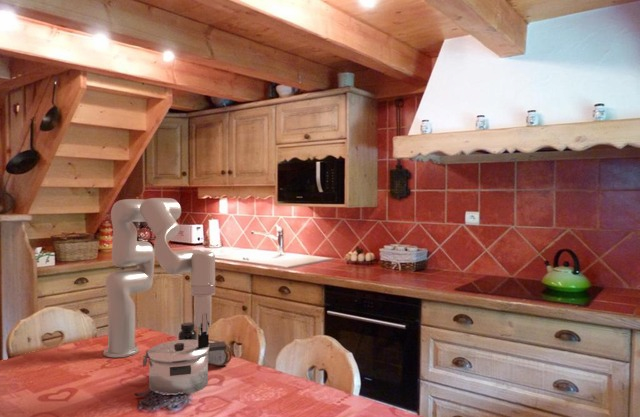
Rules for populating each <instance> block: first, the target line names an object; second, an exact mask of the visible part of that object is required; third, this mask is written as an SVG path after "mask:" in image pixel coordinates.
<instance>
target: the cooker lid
mask: <svg viewBox="0 0 640 417" xmlns="http://www.w3.org/2000/svg"><path fill="white" fill-rule="evenodd" d="M225 343H226V342H225V340H224V341H223V340H222V341H220V342H214V343H209V346H208V347H201V348H199V347H198V339H197V340H178V339H177V340H171V341H166V342H161V343H159V344H156V345H154V346H151V348H150V349H148V350H146V351H145V355H144V356H145V357H146V358H147V359H148V360H149V359H150V360H151V361H154V362H159V363H179V362H186V361H191V360H194V359H198V358H200V357H203V356H205V355H206V354H208V353H209V351H217V350H226V344H227V343H226V344H225Z"/></svg>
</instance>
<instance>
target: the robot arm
mask: <svg viewBox="0 0 640 417" xmlns="http://www.w3.org/2000/svg"><path fill="white" fill-rule="evenodd" d="M181 215H182V207H181V205H180V203H179V202H178V200H176V198H175V199H174V198H172V197H171V198H170V197H151V198H147V199H142V198H141V199H140V198H139V199H138V198H125V199H120V200H117V201H115V203H114V204H113V205H112V207H111V211H110V218H111V219H110V220H111V225H112V231H113V232H112V246H111V261H112V265H114V266H115V267H117V268H128V267H136V268H128V269H120V270H115V271H113V272H110V273H109V274H108V275H107V276H106V279H105V289H106V294H107V304H108V305H107V320H108V322H107V326H108V328H107V329H108V330H107V332H108V333H107V348H105V349H104V350H103V356H105V357H107V358H124V357H130V356H134V355H136V354H137V353H138V352H139V351H140V348H139V346H138V345H136V305H135V302H134V301H133V298H132V297H131V296H130V295H134V294H138V293H139V294H140V293H144V292H147V291H150V289H151V288H152V287H153V283H154V274H155V273H154V272H155V261H157V262H158V264H159V265H160V267H161V268H162V269H163V270H164V272H166V273H167V274H169V275H180V274H188V273H191V274H190V275H191V276H190V282H191V283H190V285H191V286H190V292H191V293H190V295H191V296H192V297H194V298H193V299H194V300H193V323H194V328H197V329H198V333H197V340H198V347H199V348H201V347H208V346H209V338H210V337H209V327H211V325H212V307H213V306H212V300H213V299H212V296H215V294H216V255H215V253H214V252H212V251H202V250H199V249H184V250H183V249H182V250H172V248H171V247H170V245H169V244H168V242H170V241H171V240H173V239H175V237H177V236H178V234H179V232H180V229H181V228H180V224H179V223H178V222H177V220H178V219H179V218H180V217H181ZM136 222H137V223H138V222H139V223H143V222H146V224H147V225H148V226H149V229H150V230H151V231H152V232H153V235H155V240H154V244H151V242H149V241H145V240H138V229H137V227H136V225H135V224H134V223H136ZM155 258H156V260H155Z"/></svg>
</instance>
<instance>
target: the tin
mask: <svg viewBox="0 0 640 417" xmlns="http://www.w3.org/2000/svg"><path fill="white" fill-rule="evenodd" d="M214 342H221V341H219V340H214V339H209V343H214ZM225 344H226V350H217V351H209V353H208V365H211V366H215V367H224V366H225V365H227V364H229V363H230V362H231V360H232V350H231V349H230V346H229V345H228V344H227V343H226V342H225Z"/></svg>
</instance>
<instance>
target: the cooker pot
mask: <svg viewBox="0 0 640 417" xmlns="http://www.w3.org/2000/svg"><path fill="white" fill-rule="evenodd" d="M142 358H143V359H142V366H143V367H146V366H147V364H148V365H149V367H148V368H149V369H148V370H149V371H148V373H149V374H148V375H149V376H148V380H149V381H148V390H149V391H150V390H151V391H158V392H167V393H178V392H183V393H186V395H190V394H193V393H196V392H199V391H202V390H203V389H204V388H206V386H208V382H209V364H208V354H206V355H205V356H203V357H200V358H198V359H194V360H191V361H186V362H179V363H159V362H154V361H151V360H150V359H149V358H146V357H145V355H144V356H143V357H142ZM148 360H149V361H148ZM148 362H149V363H148ZM151 391H150V392H151Z"/></svg>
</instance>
